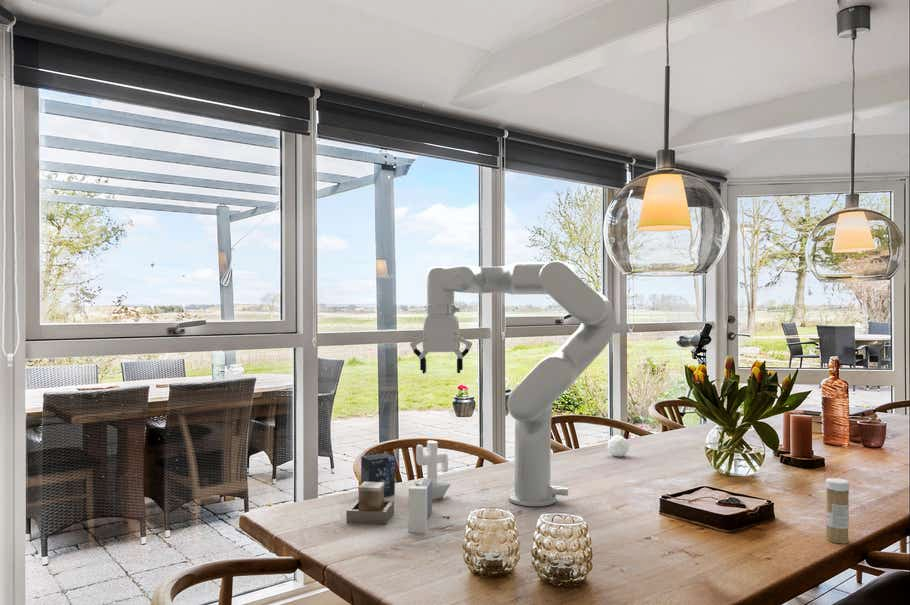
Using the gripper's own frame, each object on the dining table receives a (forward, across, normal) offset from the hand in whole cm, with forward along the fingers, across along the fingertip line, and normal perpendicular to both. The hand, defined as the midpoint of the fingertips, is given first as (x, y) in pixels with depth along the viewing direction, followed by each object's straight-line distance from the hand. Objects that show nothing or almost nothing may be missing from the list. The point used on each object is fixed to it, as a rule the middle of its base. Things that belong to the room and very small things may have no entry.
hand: (441, 372), depth 188 cm
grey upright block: (+33, +2, +25) cm, 42 cm away
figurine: (+33, +2, +5) cm, 34 cm away
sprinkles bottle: (+35, -91, +31) cm, 102 cm away
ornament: (+34, -56, -50) cm, 82 cm away
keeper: (+33, +15, +24) cm, 44 cm away
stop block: (+33, +15, +24) cm, 44 cm away
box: (+33, +17, +4) cm, 38 cm away
